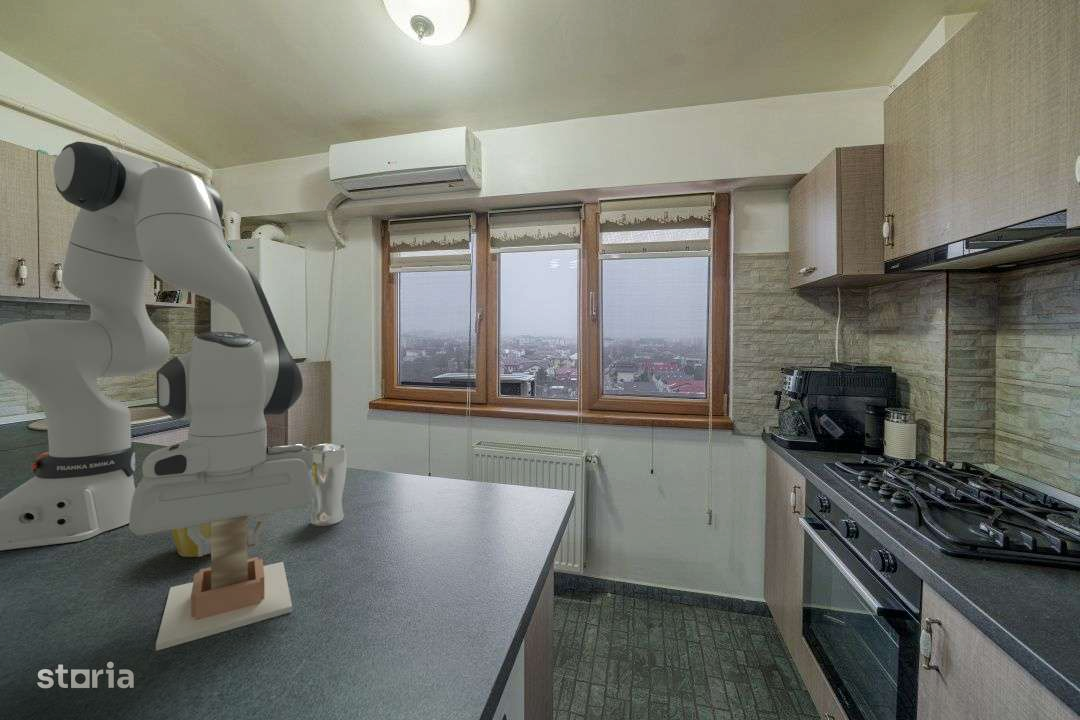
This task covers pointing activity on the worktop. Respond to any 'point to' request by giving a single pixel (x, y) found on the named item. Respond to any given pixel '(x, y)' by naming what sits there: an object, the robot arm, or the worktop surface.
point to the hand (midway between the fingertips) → (229, 549)
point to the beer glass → (327, 483)
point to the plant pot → (189, 540)
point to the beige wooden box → (228, 552)
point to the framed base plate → (223, 604)
